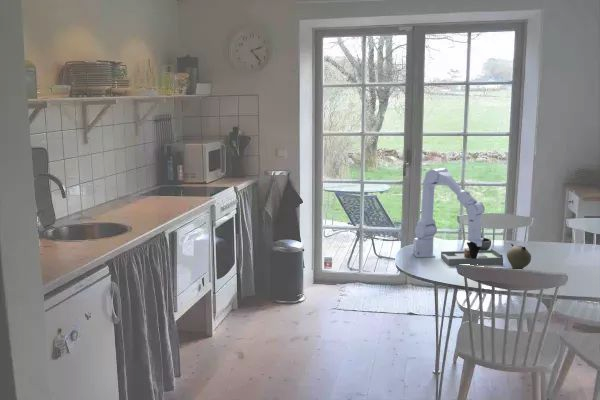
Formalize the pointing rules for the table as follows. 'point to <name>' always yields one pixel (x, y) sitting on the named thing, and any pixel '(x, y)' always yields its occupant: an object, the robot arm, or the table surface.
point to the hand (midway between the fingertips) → (473, 258)
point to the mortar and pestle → (485, 243)
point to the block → (467, 253)
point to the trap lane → (482, 259)
